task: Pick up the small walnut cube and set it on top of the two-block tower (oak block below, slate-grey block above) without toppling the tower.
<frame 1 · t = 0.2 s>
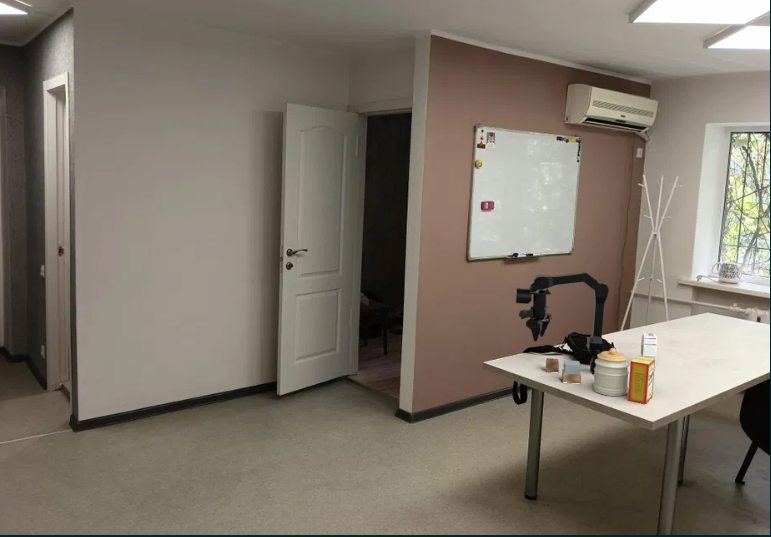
hand: (538, 338, 278), 14 cm above the table, tool pointing down, fingers open, 9 cm apart
grey block: (571, 372, 264), point 4 cm above the table
jar: (610, 391, 252), on the table
baking soda box: (640, 399, 244), on the table
oak block: (571, 381, 265), on the table
walnut cube: (551, 371, 278), on the table
syrup box: (647, 366, 286), on the table
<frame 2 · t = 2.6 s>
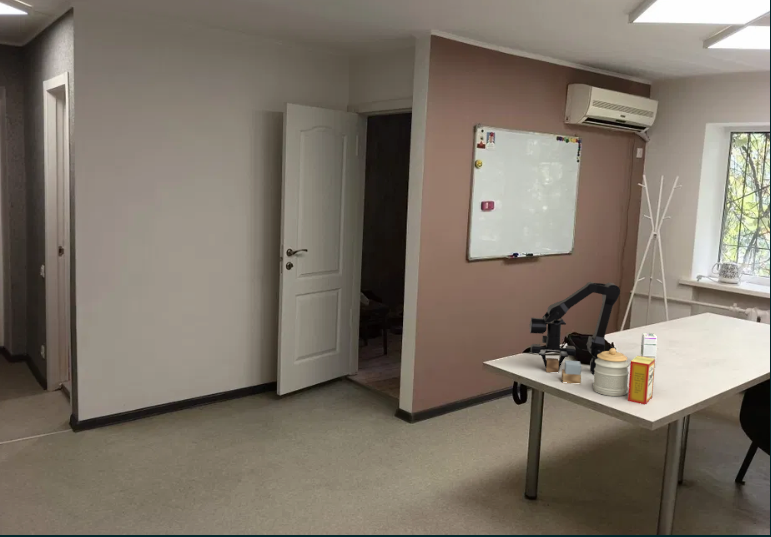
hand: (552, 368, 277), 1 cm above the table, tool pointing down, fingers closed on walnut cube, 5 cm apart
grey block: (572, 372, 264), point 4 cm above the table, touching oak block
oak block: (570, 381, 265), on the table, touching grey block
walnut cube: (551, 370, 278), on the table, touching gripper
everything else where it was.
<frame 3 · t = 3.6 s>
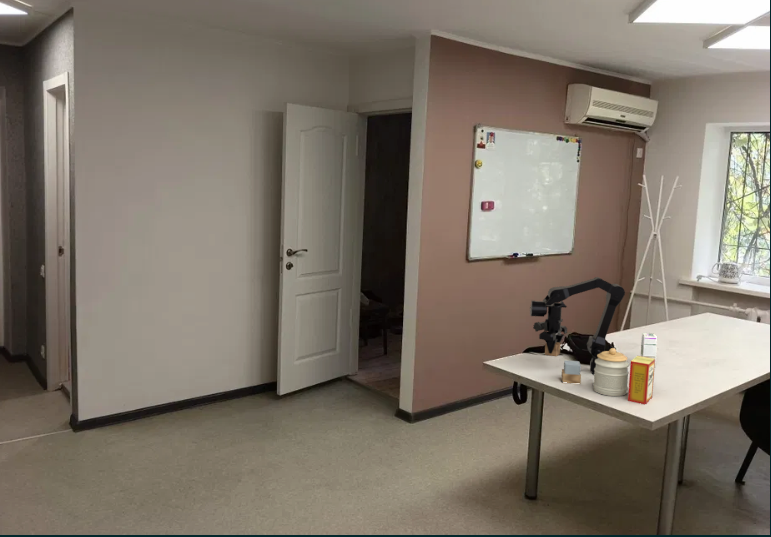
hand: (552, 351, 276), 9 cm above the table, tool pointing down, fingers closed on walnut cube, 5 cm apart
walnut cube: (552, 354, 277), point 7 cm above the table, touching gripper
everything else where it was.
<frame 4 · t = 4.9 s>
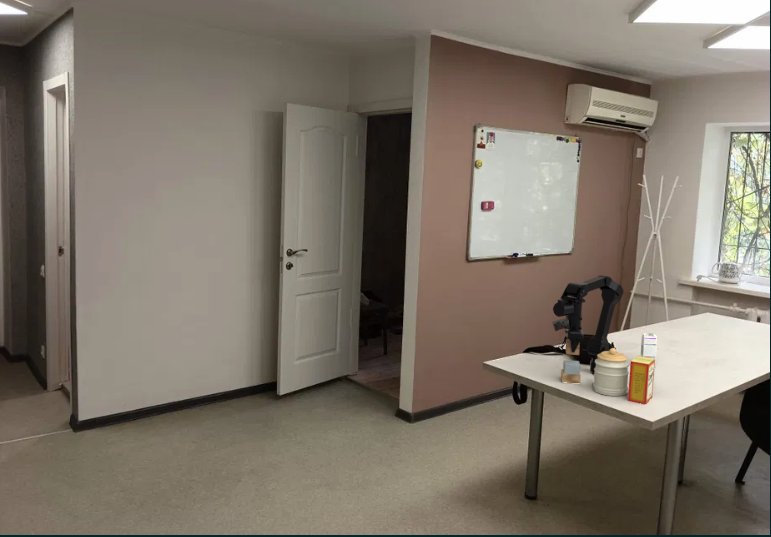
hand: (572, 350, 263), 13 cm above the table, tool pointing down, fingers closed on walnut cube, 5 cm apart
walnut cube: (572, 352, 263), point 12 cm above the table, touching gripper
everything else where it was.
when the fingers open (10 cm above the table, at t = 6.5 s): walnut cube drops 2 cm, resting on grey block.
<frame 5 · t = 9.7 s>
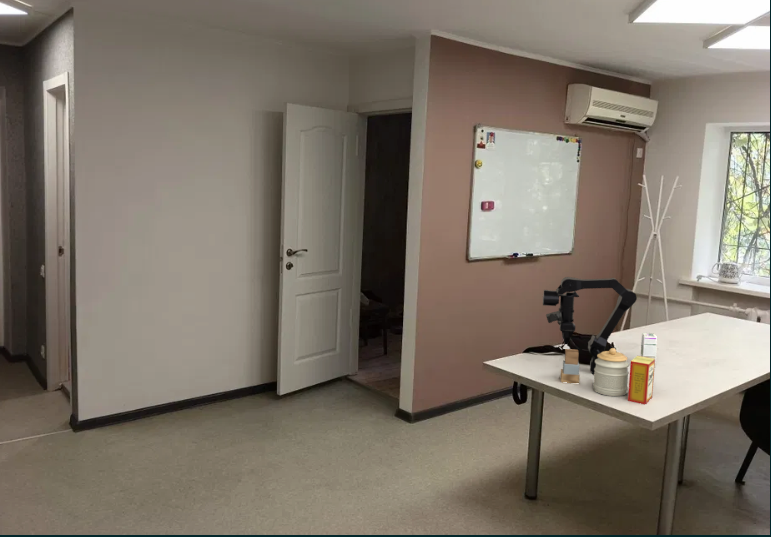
hand: (564, 341, 277), 13 cm above the table, tool pointing down, fingers open, 9 cm apart
grey block: (570, 372, 264), point 4 cm above the table, touching oak block, walnut cube
walnut cube: (571, 362, 264), point 8 cm above the table, touching grey block
everything else where it was.
at the end: walnut cube 0.5 cm off-centre on the grey block, point 4.0 cm above the grey block's base; grey block tilted 0°; walnut cube tilted 0° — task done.
